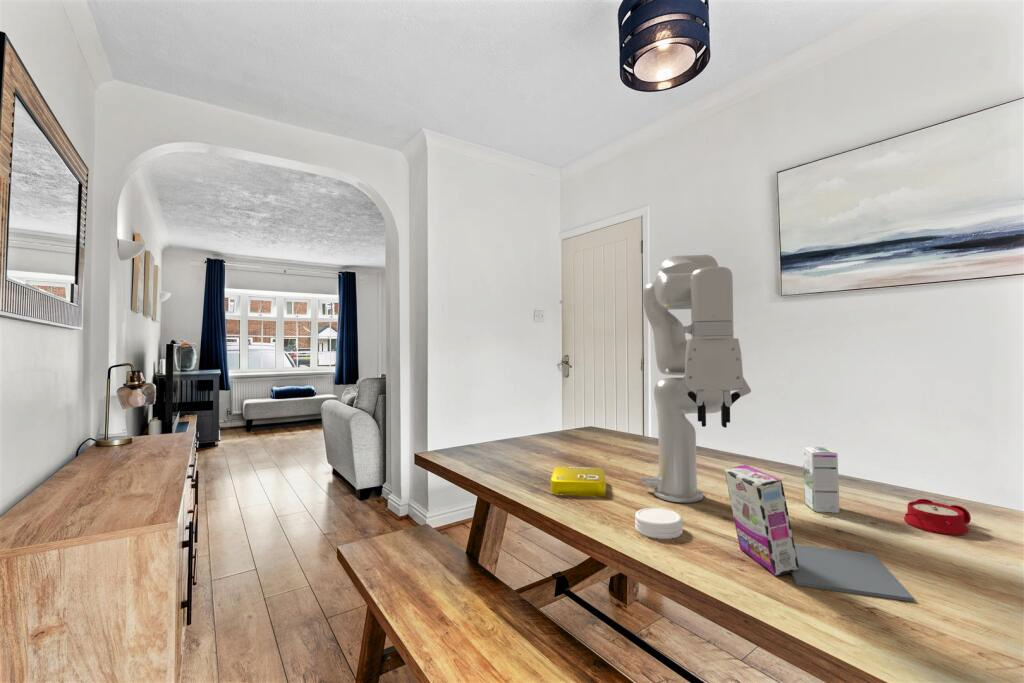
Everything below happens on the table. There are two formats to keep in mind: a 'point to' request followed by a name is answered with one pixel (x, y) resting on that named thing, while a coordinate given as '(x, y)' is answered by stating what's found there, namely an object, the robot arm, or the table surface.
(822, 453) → the syrup box
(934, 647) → the table surface
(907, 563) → the table surface
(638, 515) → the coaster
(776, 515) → the candy bar box
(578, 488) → the element tile
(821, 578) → the slate mat
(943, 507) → the alarm clock
